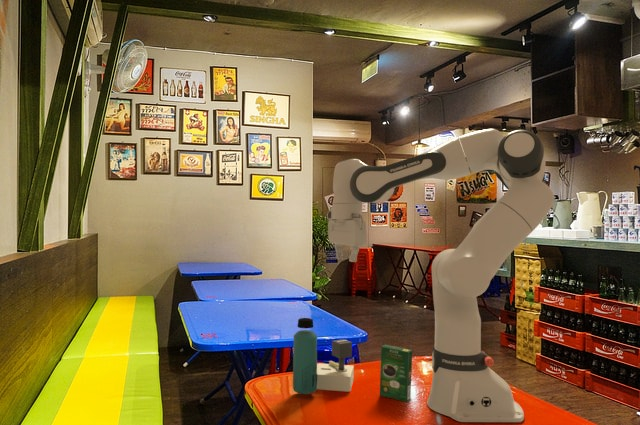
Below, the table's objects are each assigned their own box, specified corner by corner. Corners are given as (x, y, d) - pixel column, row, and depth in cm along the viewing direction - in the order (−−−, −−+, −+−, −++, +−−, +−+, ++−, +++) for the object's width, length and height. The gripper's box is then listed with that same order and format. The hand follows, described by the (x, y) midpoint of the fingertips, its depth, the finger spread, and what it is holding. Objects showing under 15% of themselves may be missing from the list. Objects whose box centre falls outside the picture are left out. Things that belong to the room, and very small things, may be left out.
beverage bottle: (314, 401, 120) (315, 321, 121) (288, 398, 122) (290, 320, 122) (319, 392, 127) (320, 316, 127) (295, 389, 128) (296, 315, 129)
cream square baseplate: (353, 378, 138) (354, 363, 138) (350, 391, 127) (350, 376, 128) (313, 375, 140) (313, 361, 140) (306, 388, 129) (306, 372, 129)
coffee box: (412, 399, 123) (413, 348, 123) (408, 403, 120) (408, 351, 120) (383, 393, 127) (384, 343, 127) (379, 396, 125) (380, 346, 125)
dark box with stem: (351, 370, 132) (352, 341, 132) (339, 372, 130) (340, 343, 130) (336, 362, 139) (336, 335, 139) (324, 364, 137) (324, 337, 137)
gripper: (372, 213, 133) (371, 263, 133) (343, 214, 152) (342, 257, 152) (352, 213, 131) (351, 263, 130) (324, 213, 150) (323, 257, 150)
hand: (346, 260), depth 141 cm, fingers open, 8 cm apart
